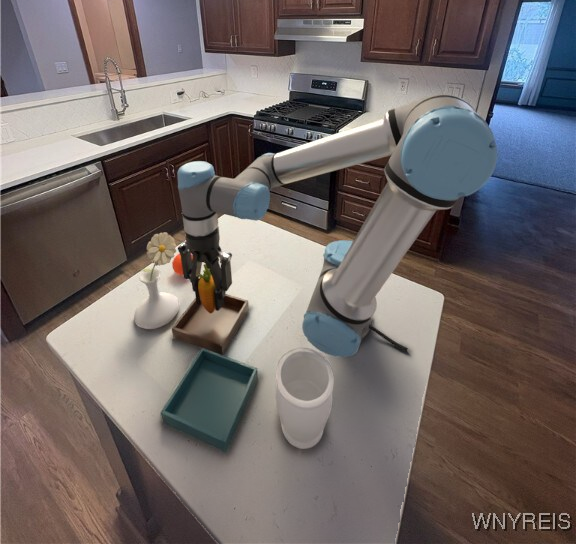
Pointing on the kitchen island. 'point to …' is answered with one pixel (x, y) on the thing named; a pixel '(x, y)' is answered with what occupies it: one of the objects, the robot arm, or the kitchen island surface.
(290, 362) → the jar
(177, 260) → the clementine
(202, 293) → the carrot
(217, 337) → the tray
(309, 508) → the kitchen island surface
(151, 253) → the flower in vase
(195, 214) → the robot arm
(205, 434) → the tray
